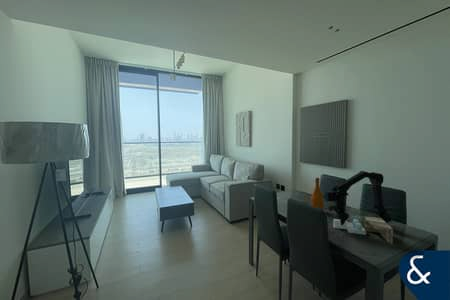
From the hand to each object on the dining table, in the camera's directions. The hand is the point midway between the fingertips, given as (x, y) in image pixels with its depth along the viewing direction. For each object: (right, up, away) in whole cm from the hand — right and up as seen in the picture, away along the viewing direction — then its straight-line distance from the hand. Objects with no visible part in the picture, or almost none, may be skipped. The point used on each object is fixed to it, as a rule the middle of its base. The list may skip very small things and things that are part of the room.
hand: (340, 222), depth 137 cm
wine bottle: (-2, -2, +31) cm, 32 cm away
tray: (+5, -4, -1) cm, 6 cm away
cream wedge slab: (+16, -5, -14) cm, 21 cm away
